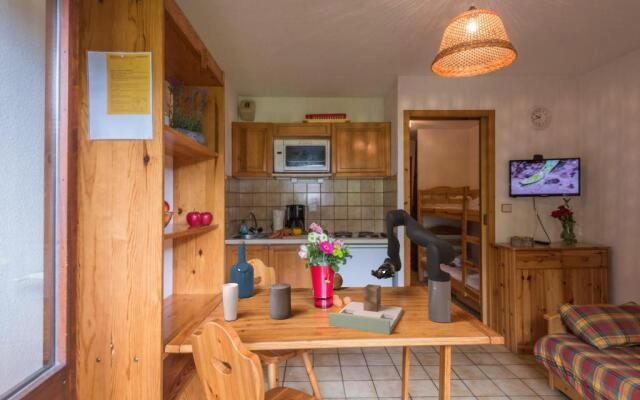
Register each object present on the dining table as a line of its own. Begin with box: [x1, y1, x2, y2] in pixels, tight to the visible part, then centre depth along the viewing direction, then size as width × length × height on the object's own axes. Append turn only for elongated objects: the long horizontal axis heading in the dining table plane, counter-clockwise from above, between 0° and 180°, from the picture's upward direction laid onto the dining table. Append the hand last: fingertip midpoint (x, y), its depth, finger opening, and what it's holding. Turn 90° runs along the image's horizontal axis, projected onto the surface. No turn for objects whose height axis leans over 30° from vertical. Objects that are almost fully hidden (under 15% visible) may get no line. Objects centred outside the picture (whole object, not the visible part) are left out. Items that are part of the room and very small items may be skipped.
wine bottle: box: [228, 240, 255, 299], centre depth 186 cm, size 14×13×30 cm
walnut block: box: [363, 284, 382, 312], centre depth 157 cm, size 6×8×10 cm
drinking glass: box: [222, 282, 239, 322], centre depth 149 cm, size 7×7×15 cm
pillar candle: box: [268, 282, 292, 321], centre depth 153 cm, size 10×10×15 cm
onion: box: [333, 272, 344, 291], centre depth 199 cm, size 10×10×10 cm
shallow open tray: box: [328, 301, 404, 336], centre depth 149 cm, size 25×30×5 cm
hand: (379, 277), depth 170 cm, fingers closed
